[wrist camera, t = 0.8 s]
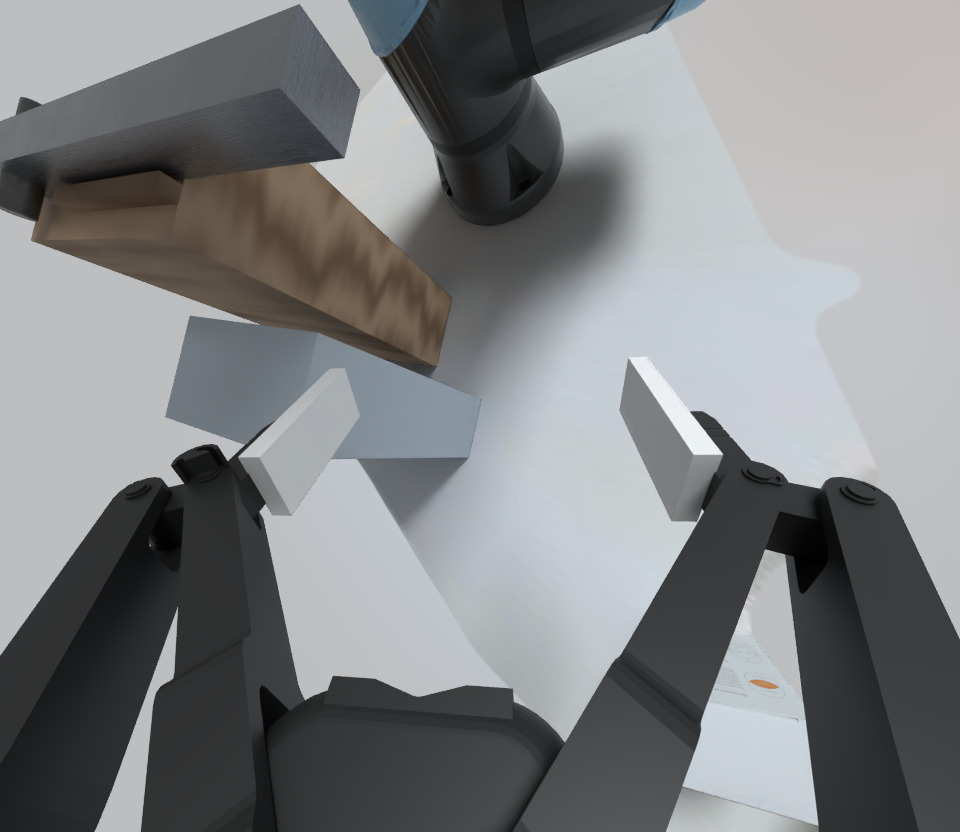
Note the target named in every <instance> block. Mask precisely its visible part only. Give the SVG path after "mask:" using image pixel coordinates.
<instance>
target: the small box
mask: <svg viewBox="0 0 960 832" xmlns="http://www.w3.org/2000/svg"><path fill="white" fill-rule="evenodd" d="M682 787H684V788H688V789H691V790H695V791H698V792H702V793H705V794H708V795H712V796H716V797H719V798H722V799H726V800H730V801H733V802H736V803H740V804H744V805H747V806H750V807H754V808H757V809H761V810H764V811H768V812H771V813H774V814H778V815H781V816H785V817H788V818H792V819H795V820H799V821H802V822H805V823H809V824H812V825H816V826H819V825H818V817H817V809H816V801H815V793H814V784H813V776H812V768H811V760H810V752H809V744H808V736H807V728H806V719H805V711H804V703H803V700H802V699H801V697H800V696H799V695H798V694H797V692H796V691H795V690H794V688H793V687H792V686H791V684H790V683H789V682H788V681H787V679H786V678H785V677H784V675H783V674H782V673H781V672H780V670H779V669H778V668H777V667H776V665H775V664H774V663H773V661H772V660H771V659H770V657H769V656H768V655H767V654H766V652H765V651H764V650H763V648H762V647H761V646H760V644H759V643H758V642H757V641H756V639H755V638H754V637H753V636H746V635H739V634H733V636H732V639H731V642H730V644H729V647H728V650H727V652H726V655H725V658H724V660H723V663H722V666H721V668H720V671H719V674H718V676H717V679H716V682H715V684H714V687H713V690H712V692H711V695H710V698H709V700H708V703H707V706H706V709H705V711H704V714H703V717H702V720H701V733H700V737H699V741H698V744H697V747H696V750H695V753H694V755H693V758H692V761H691V764H690V766H689V769H688V772H687V775H686V777H685V780H684V783H683V786H682Z"/></svg>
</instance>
